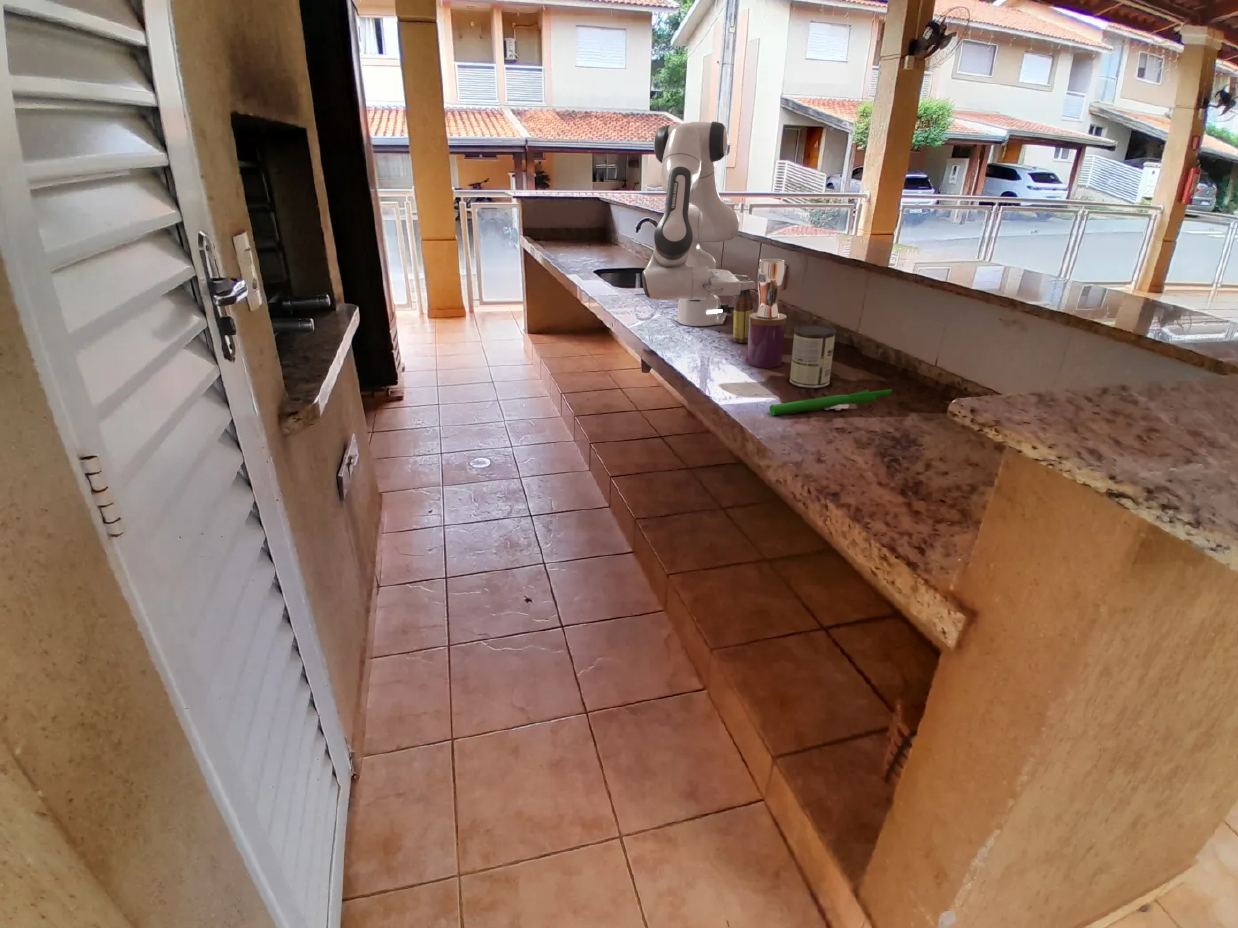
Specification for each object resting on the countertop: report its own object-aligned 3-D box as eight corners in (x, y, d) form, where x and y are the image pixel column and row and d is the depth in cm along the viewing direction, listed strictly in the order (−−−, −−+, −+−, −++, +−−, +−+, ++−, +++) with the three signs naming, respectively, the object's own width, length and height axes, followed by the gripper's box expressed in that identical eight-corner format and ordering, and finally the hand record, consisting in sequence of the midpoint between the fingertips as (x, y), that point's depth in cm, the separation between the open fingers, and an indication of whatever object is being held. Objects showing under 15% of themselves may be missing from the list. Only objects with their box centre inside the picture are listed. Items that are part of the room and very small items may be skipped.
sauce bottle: (751, 339, 203) (755, 277, 194) (753, 344, 197) (757, 280, 189) (731, 339, 204) (734, 277, 195) (732, 344, 198) (736, 280, 189)
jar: (750, 356, 185) (753, 311, 179) (785, 359, 181) (790, 313, 175) (741, 365, 177) (744, 318, 171) (777, 369, 173) (782, 321, 167)
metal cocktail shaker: (751, 313, 176) (755, 259, 169) (775, 312, 176) (780, 258, 170) (758, 319, 169) (763, 262, 163) (783, 318, 170) (788, 261, 163)
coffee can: (790, 374, 168) (795, 323, 162) (830, 377, 165) (836, 325, 159) (787, 386, 160) (792, 332, 153) (828, 389, 157) (835, 335, 150)
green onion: (775, 421, 141) (895, 403, 145) (775, 408, 139) (897, 390, 143) (766, 414, 145) (883, 396, 149) (767, 401, 144) (885, 383, 147)
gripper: (706, 277, 158) (760, 276, 158) (697, 265, 177) (745, 264, 176) (705, 302, 161) (758, 301, 161) (696, 288, 179) (744, 287, 179)
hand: (751, 281), depth 169 cm, fingers open, 8 cm apart
